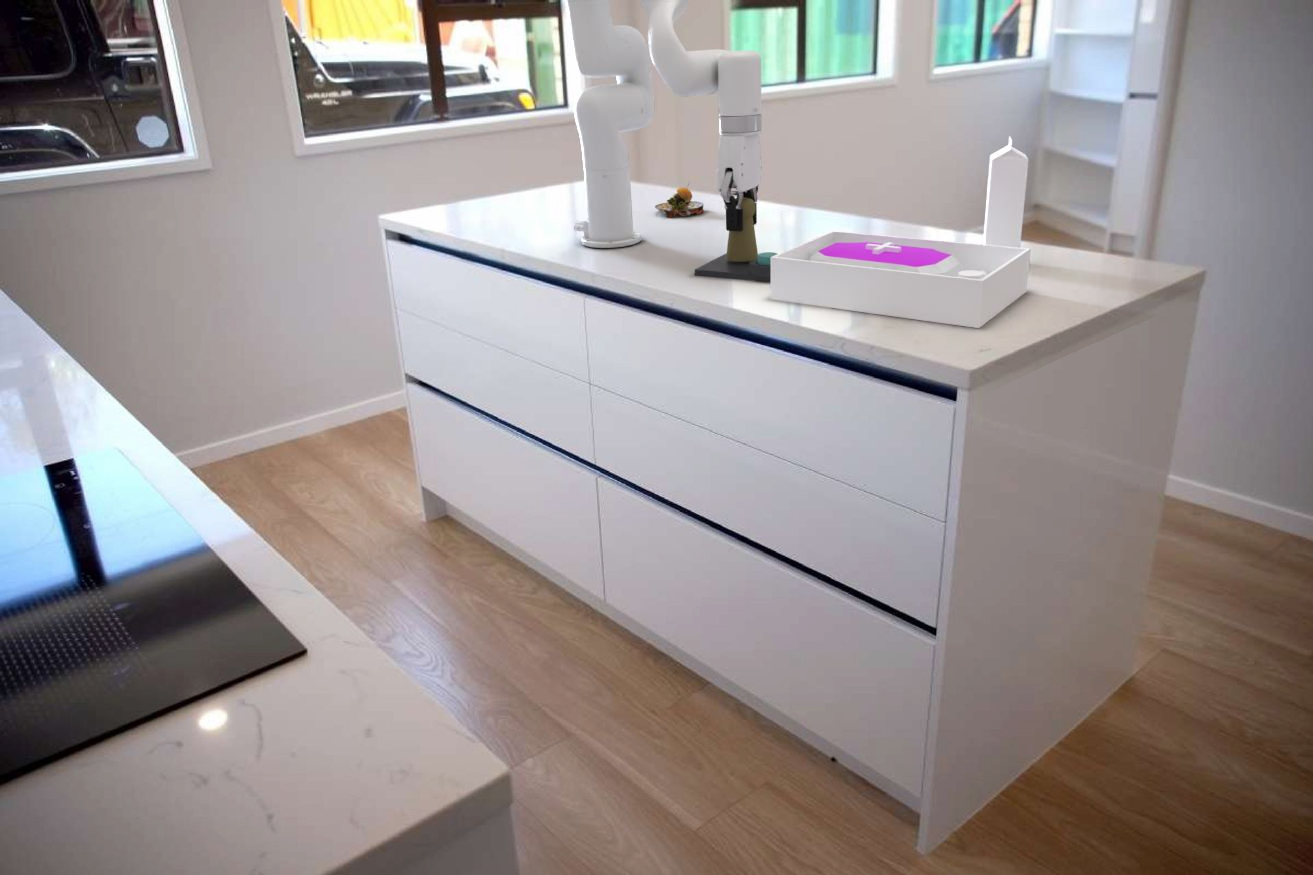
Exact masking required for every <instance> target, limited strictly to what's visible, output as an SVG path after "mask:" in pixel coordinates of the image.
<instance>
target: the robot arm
mask: <svg viewBox="0 0 1313 875" xmlns="http://www.w3.org/2000/svg"><path fill="white" fill-rule="evenodd" d="M564 1H565V6H566V7H565V8H566V12H567V20H568V28H569V34H570V41H571V48H572V54H573V59H574V64H575V67H576V69H577V72H578V73H579V74H580V75H581V76H582V77H585V78H588V79H602V78H611V77H612V78H614V77H616V83H607V84H605V83H604V84H598V85H597V84H596V85H593V86H590V87H587V88H585V89H583V90H582V91H581V92H580V93H579V94H578V95H577V97H576V98H575V101H574V106H573V107H574V108H573V113H574V120H575V124H576V128H577V132H578V134H579V140H580V146H581V154H582V155H581V156H582V165H583V167H582V168H583V176H584V178H583V179H584V191H585V205H586V217H587V218H586V220H576V221H575V223H574V226H573V230H574V232H583V236H582V237H581V244H582V245H583V246H585V247H588V248H596V249H613V248H614V249H615V248H623V247H628V246H633V245H636V244H639V243H640V241H642V235H641V233H639V232H636V231H634V224H633V223H634V222H633V202H632V188H631V187H632V186H631V184H632V183H631V169H630V166H631V165H630V157H629V152H628V149H627V146H626V144H625V142H624V141H623V139H622V137H621V133H625V132H631V131H636V130H641V129H644V128H646V127H647V126H648V125H650V124H651V122H652V120H653V119H654V115H655V108H656V105H655V93H654V92H655V91H654V85H653V84H654V83H653V77H652V76H653V74H652V68H651V62H652V64H653V66H654V68H655V69H656V71H657V73H658V75H659V77H660V79H661V80H662V82H663V83H664V84H665V86H666V87H667V88H668V89H669V91H671V93H673V94H674V95H676V96H679V97H681V98H691V97H697V96H699V97H700V96H705V95H706V96H709V95H715V94H716V95H717V94H718V96H717V98H718V135H719V139H718V146H717V156H716V157H717V158H716V159H717V161H716V189H717V191H718V192H719V193H720V196H721V198H722V200H723V203H724V209H725V229H726V230H725V231H728V232H729V231H739V232H741V231H743V209H741V202H742V197H743V198H750V199H752V200H754V202H755V205H756V210H755V214H754V215H753V222H754V226H755V225H757V224H758V218H757V216H758V214H757V212H758V211H757V210H758V206H757V203H758V192H759V186H760V184H761V182H762V150H761V149H762V148H761V137H760V135H761V134H762V59H761V55H760V53H759V52H757V51H756V50H727V49H721V48H714V49H701V50H686V49H685V48H684V46H683V44H682V42H681V41H680V39H679V37H678V36H677V33H676V31H675V29H674V28H675V27H674V23H675V22H676V21H677V20H679V19H680V18H681V17H682V16H683V15H684V14H685V12H686V11H687V10H688V8H689V6H690V3H691V0H638V2H639V4H640V6H641V8H642V9H643V11H644V12H645V14H646V16H647V18H648V20H649V21H648V27H647V33H646V34H647V42H646V40H645V37H644V36H643V34H642V33H641V32H640V31H639V29H637V28H635V27H633V26H631V25H623V24H622V25H620V24H619V25H614V22H613V19H612V13H611V12H612V10H611V4H610V1H609V0H564ZM733 189H735V190H733ZM735 198H737V199H735Z"/></svg>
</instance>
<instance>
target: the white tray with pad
mask: <svg viewBox="0 0 1313 875" xmlns="http://www.w3.org/2000/svg"><path fill="white" fill-rule="evenodd" d="M1031 250H1032V249H1031V248H1028V247H1027V248H1026V247H1020V248H1017V247H1006V246H995V245H984V244H983V243H973V242H972V243H971V242H961V241H952V240H951V241H950V240H939V239H928V238H917V237H906V236H896V235H885V234H884V235H883V234H873V233H862V232H852V231H842V230H841V231H840V230H831V231H829V232H826V233H824V234H822V235H819V236H817V237H815V238H813V239H809V240H808V241H805V242H802V243H800V244H797V245H795V246H793V247H791V248H789V249H787V250H784V251H782V252H779V253H777V255H775V256H772V257H771V282H770V300H773V301H780V302H787V303H795V304H802V305H809V306H816V307H817V306H818V307H824V308H831V309H836V310H837V309H838V310H844V311H851V312H858V313H865V314H872V315H878V316H879V315H880V316H886V317H887V316H888V317H894V318H903V319H909V320H917V321H924V322H932V323H939V324H944V325H954V326H960V327H967V328H974V329H980V328H981V327H983V326H984V325H985V324H987V323H988V322H989V321H990V320H992V319H993V318H994V317H995V316H997V315H999V313H1001V312H1002V311H1004V310H1005V309H1006V308H1008V307H1009V306H1010V305H1011V304H1012V303H1014V302H1015V301H1017V300H1018V299H1020V297H1022V296H1023V295H1025V293H1027V289H1028V279H1029V271H1030V270H1029V269H1030V260H1031Z"/></svg>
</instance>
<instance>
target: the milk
mask: <svg viewBox="0 0 1313 875" xmlns="http://www.w3.org/2000/svg"><path fill="white" fill-rule="evenodd" d="M1029 160H1030V159H1029V158H1028V156H1027V155H1026V154H1025V153H1024V152H1023V151H1021V150H1019V149H1017V148H1015V147H1013V139H1012V137H1011V136H1010V135H1009V136H1008V144H1007V145H1006V146H1004V147H1002V148H1000V149H998V150H997V151H995V152H993V153H991V154H990V155H989V164H988V177H987V188H986V189H987V190H986V198H985V199H986V202H985V214H984V223H983V224H984V226H983V237H982V244H984V245H995V246H1006V247H1017V248H1021V243H1022V232H1023V222H1024V212H1025V201H1026V192H1027V183H1028V182H1027V180H1028V172H1029V171H1028V170H1029Z"/></svg>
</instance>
